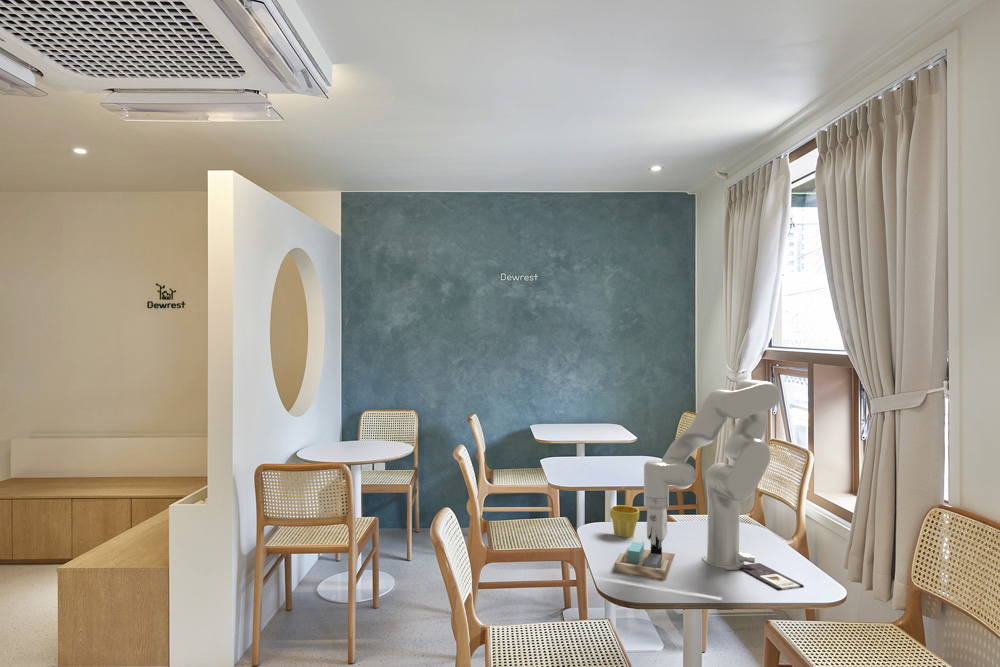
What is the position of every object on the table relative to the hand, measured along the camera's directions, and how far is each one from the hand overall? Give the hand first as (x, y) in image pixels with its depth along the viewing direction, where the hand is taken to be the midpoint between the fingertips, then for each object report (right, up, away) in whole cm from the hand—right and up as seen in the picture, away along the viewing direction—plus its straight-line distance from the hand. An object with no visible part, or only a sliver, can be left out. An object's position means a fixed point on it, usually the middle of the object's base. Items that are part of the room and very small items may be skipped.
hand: (656, 559), depth 187 cm
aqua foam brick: (-5, -1, +5) cm, 7 cm away
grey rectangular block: (-2, -1, -6) cm, 6 cm away
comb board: (-3, -2, +1) cm, 4 cm away
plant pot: (-4, -3, +29) cm, 29 cm away
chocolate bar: (+32, -3, -7) cm, 33 cm away
